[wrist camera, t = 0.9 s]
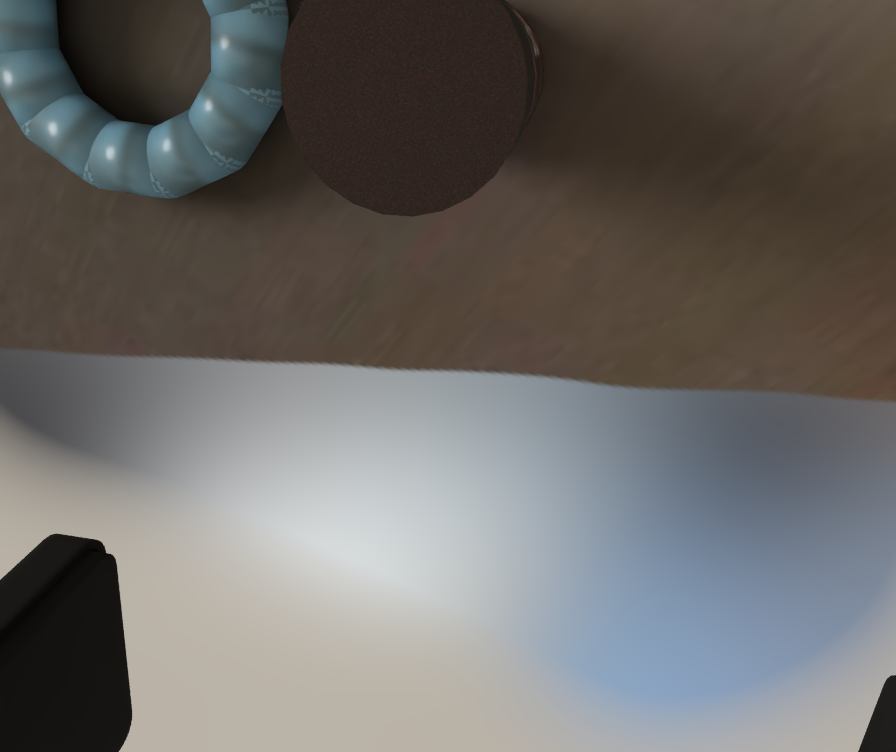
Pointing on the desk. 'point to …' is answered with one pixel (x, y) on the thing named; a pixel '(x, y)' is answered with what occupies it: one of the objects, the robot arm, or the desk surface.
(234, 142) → the ring
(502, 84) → the deodorant
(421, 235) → the desk surface
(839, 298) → the desk surface
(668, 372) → the desk surface
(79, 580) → the robot arm
